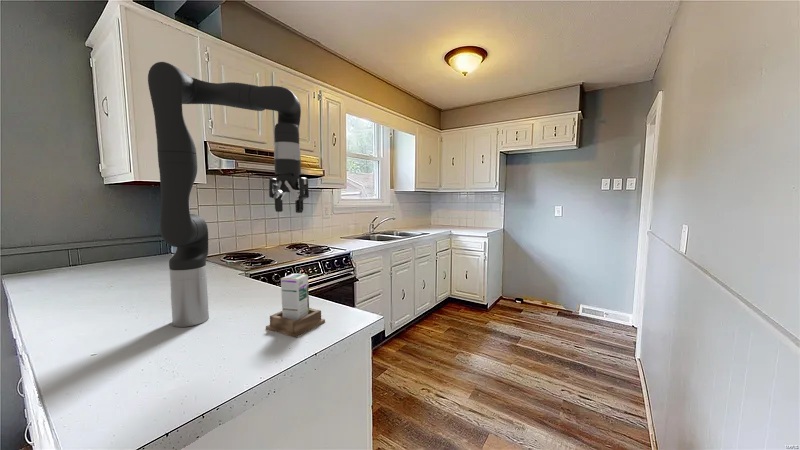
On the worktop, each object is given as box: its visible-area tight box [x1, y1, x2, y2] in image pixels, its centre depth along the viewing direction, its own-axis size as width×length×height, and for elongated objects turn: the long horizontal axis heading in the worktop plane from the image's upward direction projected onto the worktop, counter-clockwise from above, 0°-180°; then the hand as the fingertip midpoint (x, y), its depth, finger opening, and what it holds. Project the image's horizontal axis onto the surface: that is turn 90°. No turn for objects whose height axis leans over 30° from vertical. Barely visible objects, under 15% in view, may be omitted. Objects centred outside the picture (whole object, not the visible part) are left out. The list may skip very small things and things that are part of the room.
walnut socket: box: [265, 307, 326, 339], centre depth 92 cm, size 12×12×4 cm
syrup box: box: [280, 273, 310, 321], centre depth 92 cm, size 6×6×14 cm
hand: (289, 212), depth 94 cm, fingers open, 8 cm apart
